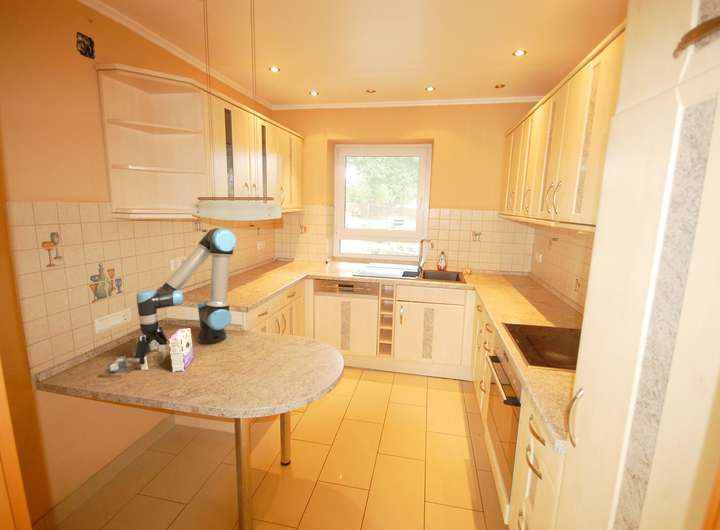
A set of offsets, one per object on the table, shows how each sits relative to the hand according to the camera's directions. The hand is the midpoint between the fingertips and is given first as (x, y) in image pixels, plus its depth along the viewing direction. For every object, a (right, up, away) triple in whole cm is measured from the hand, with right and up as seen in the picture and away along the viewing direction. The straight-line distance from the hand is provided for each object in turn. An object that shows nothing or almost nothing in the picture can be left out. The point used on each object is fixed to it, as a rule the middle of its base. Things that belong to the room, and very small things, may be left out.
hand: (154, 363), depth 167 cm
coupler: (0, 0, 0) cm, 0 cm away
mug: (-15, +2, +19) cm, 24 cm away
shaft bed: (-12, 0, 0) cm, 12 cm away
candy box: (+16, 0, -3) cm, 16 cm away
